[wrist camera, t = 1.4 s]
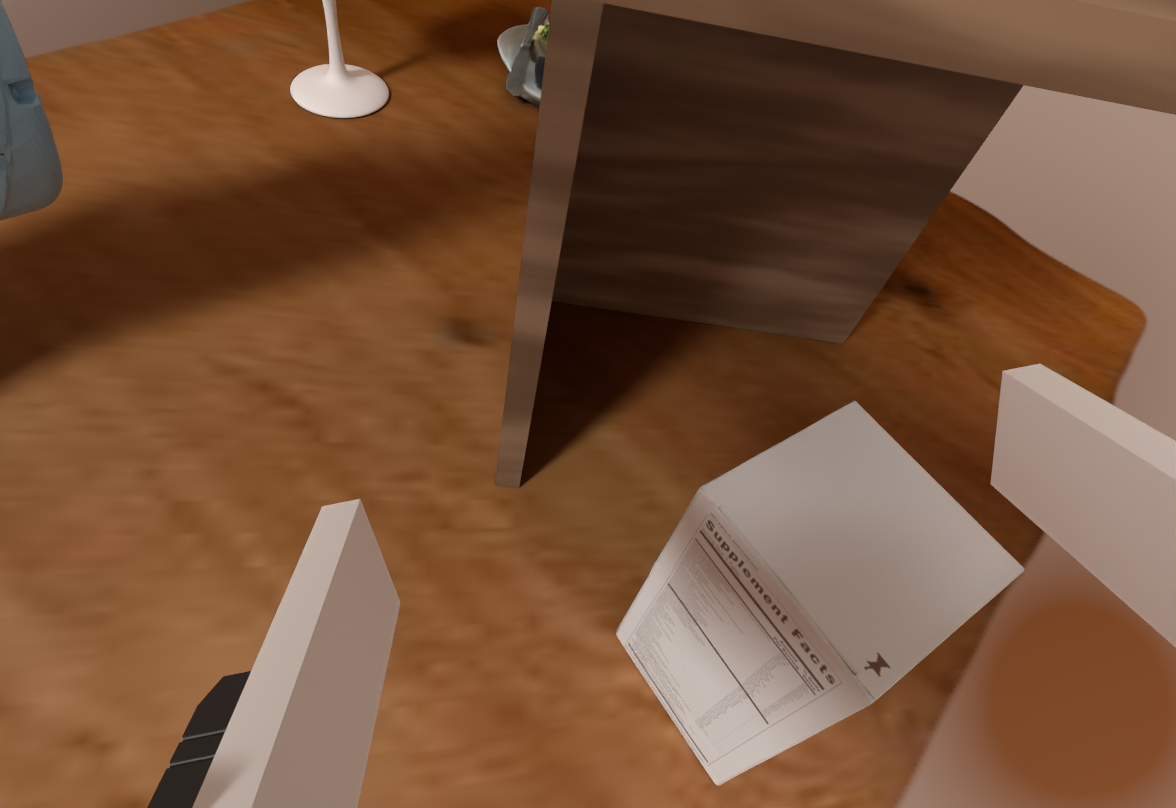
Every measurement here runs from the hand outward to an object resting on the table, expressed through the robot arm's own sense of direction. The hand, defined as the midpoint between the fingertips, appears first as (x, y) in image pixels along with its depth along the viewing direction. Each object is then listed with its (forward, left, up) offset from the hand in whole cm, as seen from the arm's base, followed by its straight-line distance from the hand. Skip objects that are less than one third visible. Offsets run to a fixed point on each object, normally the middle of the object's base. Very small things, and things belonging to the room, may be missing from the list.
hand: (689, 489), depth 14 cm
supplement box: (+2, +11, -26) cm, 29 cm away
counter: (-14, +21, -26) cm, 36 cm away
